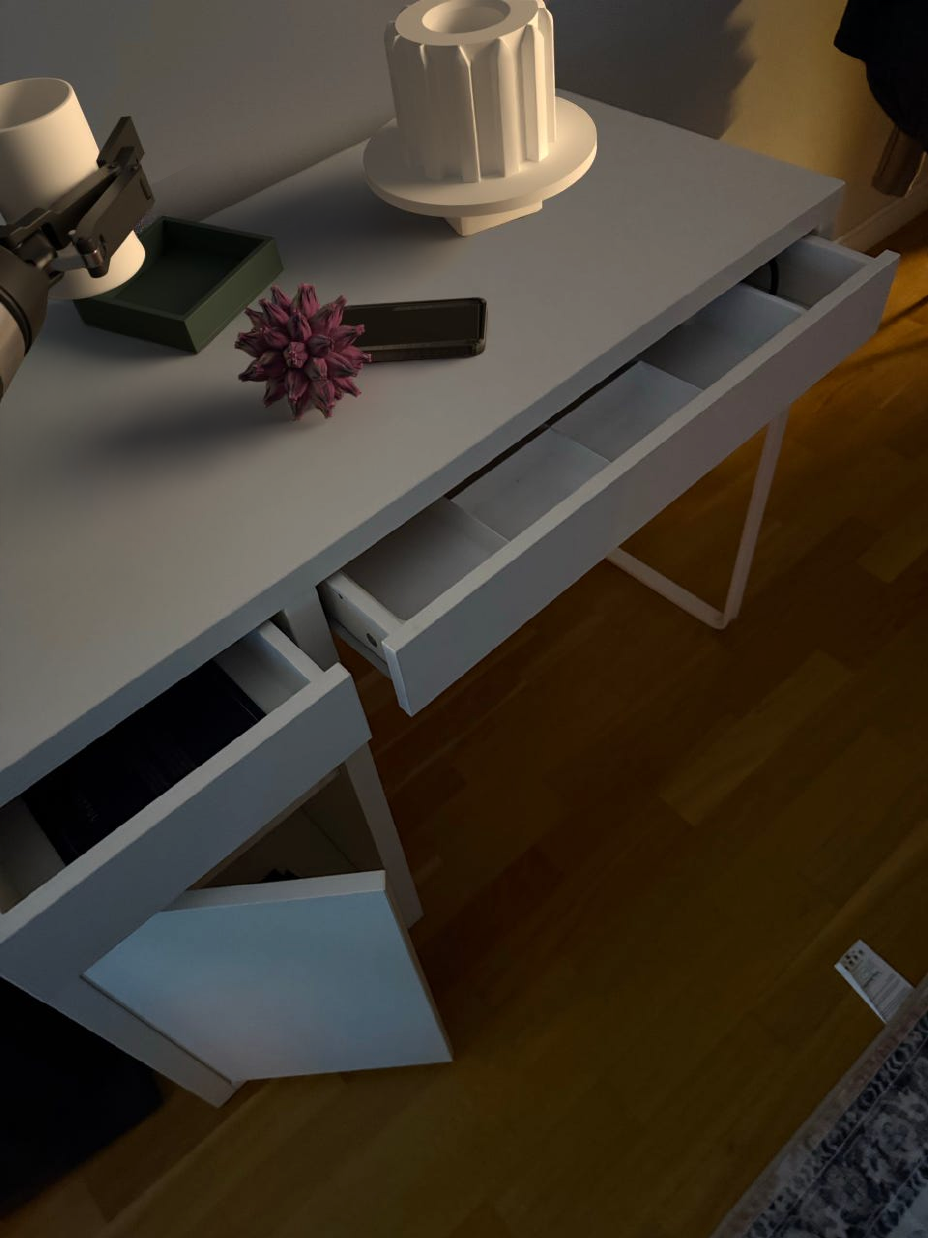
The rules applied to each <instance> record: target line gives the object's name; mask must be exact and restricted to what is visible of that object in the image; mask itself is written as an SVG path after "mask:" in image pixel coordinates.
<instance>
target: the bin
mask: <svg viewBox="0 0 928 1238" xmlns="http://www.w3.org/2000/svg"><path fill="white" fill-rule="evenodd" d="M136 237H137V238H138V240H139V241H140V242H141V244H142V245H143V247H144V250H145V258H144V262H143V264H142V266H141V267H140V269H139V270H138V271H137V272H136V273H135V274H134V275H133V276H132V277H131V278H130V279H128V280H127V281H126V282H124V283H123V284H121V285H119V286H117V287H116V288H114V289H111V290H109V291H107V292H104V293H101V294H98V295H95V296H91V297H87V298H81V299H70V300H71V302H72V303H73V306H74V307H75V309H76V311H77V313H78V315H79V316H80V317H79V318H80V319H81V321H82V323H83V325H86V326H89V327H92V328H97V329H101V330H104V331H107V332H112V333H115V334H118V335H119V334H120V335H123V336H127V337H131V338H135V339H138V340H142V341H146V342H150V343H153V344H157V345H160V346H161V345H162V346H164V347H169V348H172V349H176V350H180V351H184V352H187V353H191V354H195V355H199V354H200V353H201V352H202V351H203V350H204V349H205V348H206V347H207V346H208V345H209V344H210V343H211V342H212V341H213V340H214V339H215V338H216V337H218V335H219V334H220V333H221V332H222V331H224V330H225V328H226V327H227V326H229V324H231V323H232V321H234V320H235V319H236V318H237V317H238V316H239V315H240V314H241V313H242V312H244V311H245V307H248V306H249V305H250V304H251V303H252V302H253V301H254V300H255V299H256V298H257V297H258V296H260V294H261V293H262V292H263V291H264V290H266V288H267V287H268V286H270V284H272V283H273V281H275V280H276V279H277V278H278V277H279V276H280V275H281V274H282V273H283V272H284V271H285V266H284V262H283V260H282V256H281V253H280V249H279V246H278V242H277V239H276V236H272V235H266V234H261V233H255V232H250V231H246V230H240V229H237V228H236V229H235V228H230V227H226V226H220V225H216V224H211V223H205V222H199V221H195V220H190V219H184V218H179V217H175V216H168V215H164V214H162V215H161V216H160V217H158V218H157V219H156V220H154V222H152V223H151V224H150V225H149V226H147V227H146V228H145V229H144V230H142V232H140V233H139V234H138V235H136Z"/></svg>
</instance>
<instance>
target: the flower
mask: <svg viewBox="0 0 928 1238" xmlns="http://www.w3.org/2000/svg"><path fill="white" fill-rule="evenodd" d="M297 285H298V286H297V292H296V293H295V295H294V296H293V298H292V299H290V298H289V296H287V295H286V294H284V293H283V292H282V291H281V290H280V288H279V286H278V285H277V284H274V285H272V286H269V290H270V294H271V300H270V302H269V300H267V298H265V297H262V298H258V302H257V303H258V305H259V306H260V308H261V310H262V311H256V310H253V309H251V308H250V307H248V306H247V307H245V309H244V311H243V313H244V314H245V316H247V317H248V318H249V320H250V322H251V324H252V328H251V329H250V331H247V332H242V331H238V334H237V338H236V340H235V341H234V344H233V346H234V348H233V349H236V350H241V351H243V352H244V353H246V354H247V355H248V356H250V357H251V358H255V359H253V360H252V361H251V362H250V363H249V364H248V366H247V368H246V369H245V370H244V371H243V372H241V373H239V374H238V375H237V379H238V381H241V382H242V383H246V382H255V383H264V382H266V383H265V390H264V395H263V397H262V398H261V400H260V403H261V405H263V406H264V409H268V408H269V407H270V406H272V405H273V403H276V402H278V401H280V400H282V399H283V398H285V396H286V401H287V405H288V406H289V409H290V411H291V421H292V422H296V421H297V422H299V421H301V417H302V416H303V414H304V411H305V410H306V408H307V407H308V405H309V403H311V404H312V405H313V406H314V407H315V408H316V409H317V410H318V411H320V412H321V413H322V415H323V417H324V419H327V420H328V418H332V417H333V413H332V410H333V409H335V402H334V400H335V401H338V402H339V401H342V400H343V398H344V397H345V395H344V394H348V395H350V396H352V397H354V398H356V399H357V398H358V397H359V395H361V394H362V391H361V390H360V389H359V388H358V387H357V386H356V385H355V384H354V382H353V380H352V378H357V376H358V375H359V370H363V368H364V367H363V366H364V363H371V362H372V361H371V354H366V353H363V352H362V351H360V350H359V349H357V348H355V347H353V346H350V345H351V344H352V343H353V342H354V340H355V339H356V338H357V336H359V335H361V333H363V332H364V328H363V327H364V325H358V326H348V325H342V326H339V324H340V322H341V320H342V314H343V308H344V306H346V304H347V303H348V299H347V298H345V297H344V295H343V294H341V295H339V296H338V297H337V299H336V300H334V301H331V302H328V303H326V304H324V305H322V306H321V307H320V302H319V298H318V297H317V294H316V285H315V283H312V284H310V283H307V282H306V283H302V282H300V283H299V284H297Z"/></svg>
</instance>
